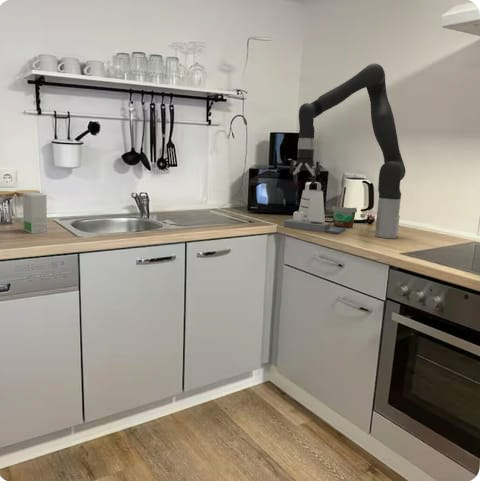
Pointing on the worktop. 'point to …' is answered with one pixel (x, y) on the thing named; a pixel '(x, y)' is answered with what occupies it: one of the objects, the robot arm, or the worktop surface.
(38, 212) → the skincare box
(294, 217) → the block
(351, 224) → the food container
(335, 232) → the phone
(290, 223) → the power strip
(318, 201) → the grater
